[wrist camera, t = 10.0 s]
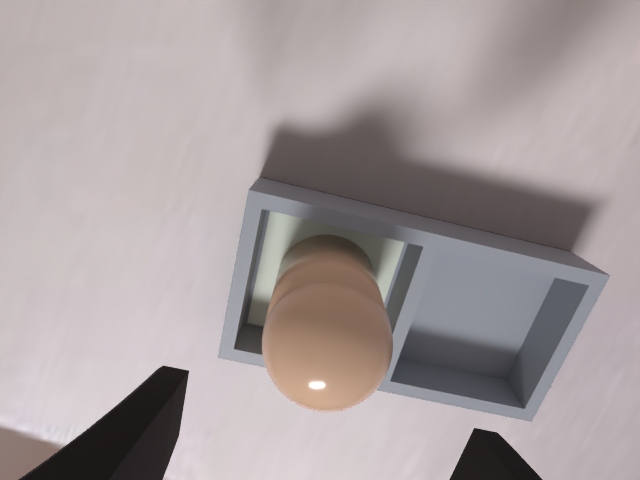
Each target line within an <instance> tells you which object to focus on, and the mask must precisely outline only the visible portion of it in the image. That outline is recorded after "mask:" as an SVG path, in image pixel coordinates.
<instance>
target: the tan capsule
mask: <svg viewBox="0 0 640 480" xmlns="http://www.w3.org/2000/svg"><path fill="white" fill-rule="evenodd" d="M392 353H393V336H392V330H391V325H390V322H389V319H388V315H387V312H386V309H385V306H384V302H383V299H382V296H381V292H380V289H379V286H378V283H377V279H376V276H375V273H374V270H373V266H372V264H371V261H370V259H369V257H368V256H367V255H366V253H365V252H364V251H363V250H362V249H361V248H360V247H359V246H358V245H357V244H355V243H354V242H352V241H350V240H348V239H346V238H344V237H340V236H336V235H325V234H324V235H316V236H312V237H309V238H306V239H304V240H302V241H300V242H298V243H297V244H295V245H294V246H293V247H292V248H291V249H290V250H289V251H288V252H287V253H286V254H285V256H284V258H283V259H282V261H281V264H280V267H279V270H278V274H277V278H276V281H275V285H274V289H273V293H272V297H271V301H270V305H269V308H268V312H267V316H266V320H265V324H264V328H263V334H262V354H263V360H264V363H265V366H266V369H267V372H268V374H269V376H270V378H271V379H272V381H273V383H274V384H275V385H276V387H277V388H278V389H279V390H280V391H281V393H283V394H284V395H285V396H286V397H287V398H288V399H290V400H291V401H292V402H294V403H296V404H298V405H300V406H302V407H304V408H307V409H310V410H314V411H320V412H336V411H342V410H345V409H348V408H351V407H353V406H356V405H358V404H360V403H361V402H363V401H364V400H366V399H367V398H368V397H369V396H370V395H371V394H373V393H374V392H375V391H376V389H377V388H378V387H379V386H380V384H381V383H382V381H383V380H384V378H385V376H386V374H387V372H388V369H389V366H390V363H391V359H392Z"/></svg>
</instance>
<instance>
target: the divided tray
mask: <svg viewBox="0 0 640 480" xmlns="http://www.w3.org/2000/svg"><path fill="white" fill-rule="evenodd" d="M324 234H325V235H336V236H340V237H344V238H346V239H348V240H350V241H352V242H354V243H355V244H357V245H358V246H359V247H360V248H361V249H362V250H363V251H364V252H365V253H366V255H367V256H368V257H369V259H370V261H371V264H372V266H373V270H374V273H375V276H376V279H377V283H378V286H379V289H380V292H381V296H382V299H383V302H384V306H385V309H386V312H387V315H388V319H389V322H390V325H391V330H392V336H393V353H392V359H391V363H390V366H389V369H388V372H387V374H386V376H385V378H384V380H383V381H382V383H381V384H380V386H379V387H378V388H377V389H376V390H379V391H384V392H388V393H393V394H398V395H403V396H408V397H413V398H418V399H423V400H428V401H433V402H438V403H442V404H447V405H452V406H457V407H462V408H467V409H472V410H477V411H482V412H487V413H492V414H496V415H501V416H506V417H511V418H516V419H521V420H526V421H531V422H532V420H533V418H534V416H535V414H536V412H537V411H538V409H539V407H540V405H541V403H542V401H543V399H544V398H545V396H546V394H547V392H548V390H549V388H550V386H551V385H552V383H553V381H554V379H555V377H556V375H557V373H558V372H559V370H560V368H561V366H562V364H563V362H564V360H565V359H566V357H567V355H568V353H569V351H570V349H571V347H572V346H573V344H574V342H575V340H576V338H577V336H578V334H579V333H580V331H581V329H582V327H583V325H584V323H585V321H586V320H587V318H588V316H589V314H590V312H591V310H592V308H593V307H594V305H595V303H596V301H597V299H598V297H599V295H600V294H601V292H602V290H603V288H604V286H605V284H606V282H607V281H608V279H609V277H610V275H608V274H607V273H605V272H603V271H602V270H600V269H598V268H597V267H595V266H593V265H592V264H590V263H588V262H587V261H585V260H583V259H582V258H580V257H578V256H577V255H575V254H573V253H572V252H569V251H565V250H561V249H557V248H552V247H548V246H544V245H540V244H536V243H532V242H527V241H523V240H519V239H515V238H511V237H507V236H502V235H498V234H494V233H490V232H486V231H482V230H477V229H473V228H469V227H465V226H461V225H457V224H452V223H448V222H444V221H440V220H436V219H432V218H427V217H423V216H419V215H415V214H411V213H407V212H403V211H398V210H394V209H390V208H386V207H382V206H378V205H373V204H369V203H365V202H361V201H357V200H353V199H348V198H344V197H340V196H336V195H332V194H328V193H323V192H319V191H315V190H311V189H307V188H303V187H298V186H294V185H290V184H286V183H282V182H278V181H273V180H269V179H265V178H261V177H259V178H258V179H257V181H256V182H255V183H254V184H253V185H252V187H251V188H250V189H249V191H248V197H247V202H246V208H245V213H244V219H243V224H242V229H241V235H240V240H239V246H238V251H237V256H236V262H235V267H234V273H233V278H232V283H231V289H230V294H229V300H228V305H227V311H226V316H225V321H224V327H223V332H222V338H221V343H220V348H219V354H218V358H222V359H226V360H231V361H236V362H241V363H246V364H251V365H256V366H261V367H266V366H265V363H264V360H263V354H262V334H263V328H264V324H265V320H266V316H267V312H268V308H269V305H270V301H271V297H272V293H273V289H274V285H275V281H276V278H277V274H278V270H279V267H280V264H281V261H282V259H283V258H284V256H285V254H286V253H287V252H288V251H289V250H290V249H291V248H292V247H293V246H294V245H295V244H297V243H298V242H300V241H302V240H304V239H306V238H309V237H312V236H316V235H324Z"/></svg>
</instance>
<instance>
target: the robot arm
mask: <svg viewBox="0 0 640 480" xmlns="http://www.w3.org/2000/svg"><path fill="white" fill-rule="evenodd" d="M188 374H189V371H187V370H182V369H177V368H172V367H167V366H162V367H160V368H159V369H157V370H156V371H155V372H154V373H153V374H152V375H151V376H150V377H149V378H148V379H147V380H145V381H144V382H143V383H142V384H141V385H140V386H139V387H138V388H137V389H135V390H134V391H133V392H132V393H131V394H130V395H128V396H127V397H126V398H125V399H124V400H123V401H121V402H120V403H119V404H118V405H117V406H116V407H114V408H113V409H112V410H111V411H109V412H108V413H107V414H106V415H105V416H103V417H102V418H101V419H100V420H98V421H97V422H96V423H95V424H93V425H92V426H91V427H90V428H89V429H87V430H86V431H85V432H83V433H82V434H81V435H80V436H78V437H77V438H76V439H74V440H73V441H71V442H70V443H69V444H67V445H66V446H65V447H63V448H62V449H61V450H59V451H58V452H57V453H55V454H54V455H53V456H51V457H50V458H49V459H47V460H46V461H45V462H43V463H42V464H40V465H39V466H38V467H36V468H35V469H33V470H32V471H30V472H29V473H28V474H26V475H25V476H23V477H22V478H20V479H19V480H162V479H163V477H164V474H165V471H166V469H167V466H168V464H169V461H170V458H171V456H172V453H173V450H174V447H175V445H176V442H177V439H178V437H179V431H180V425H181V418H182V412H183V406H184V399H185V393H186V387H187V380H188ZM450 480H542V479H541V478H540V477H539V475H538V474H537V473H536V472H535V471H534V470H533V469H532V468H531V467H530V466H529V465H528V464H527V463H526V462H525V460H524V459H523V458H522V457H521V456H520V455H519V454H518V453H517V452H516V451H515V450H514V449H513V448H512V447H511V446H510V445H509V444H508V443H507V442H506V441H505V440H504V439H503V438H502V437H501V436H500V435H499V434H498V433H496V432H491V431H486V430H481V429H476V428H474V430H473V432H472V434H471V436H470V438H469V440H468V442H467V445H466V447H465V449H464V451H463V453H462V455H461V457H460V459H459V461H458V463H457V465H456V467H455V470H454V472H453V474H452V476H451V478H450Z"/></svg>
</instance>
